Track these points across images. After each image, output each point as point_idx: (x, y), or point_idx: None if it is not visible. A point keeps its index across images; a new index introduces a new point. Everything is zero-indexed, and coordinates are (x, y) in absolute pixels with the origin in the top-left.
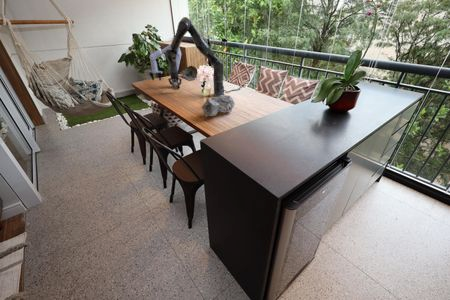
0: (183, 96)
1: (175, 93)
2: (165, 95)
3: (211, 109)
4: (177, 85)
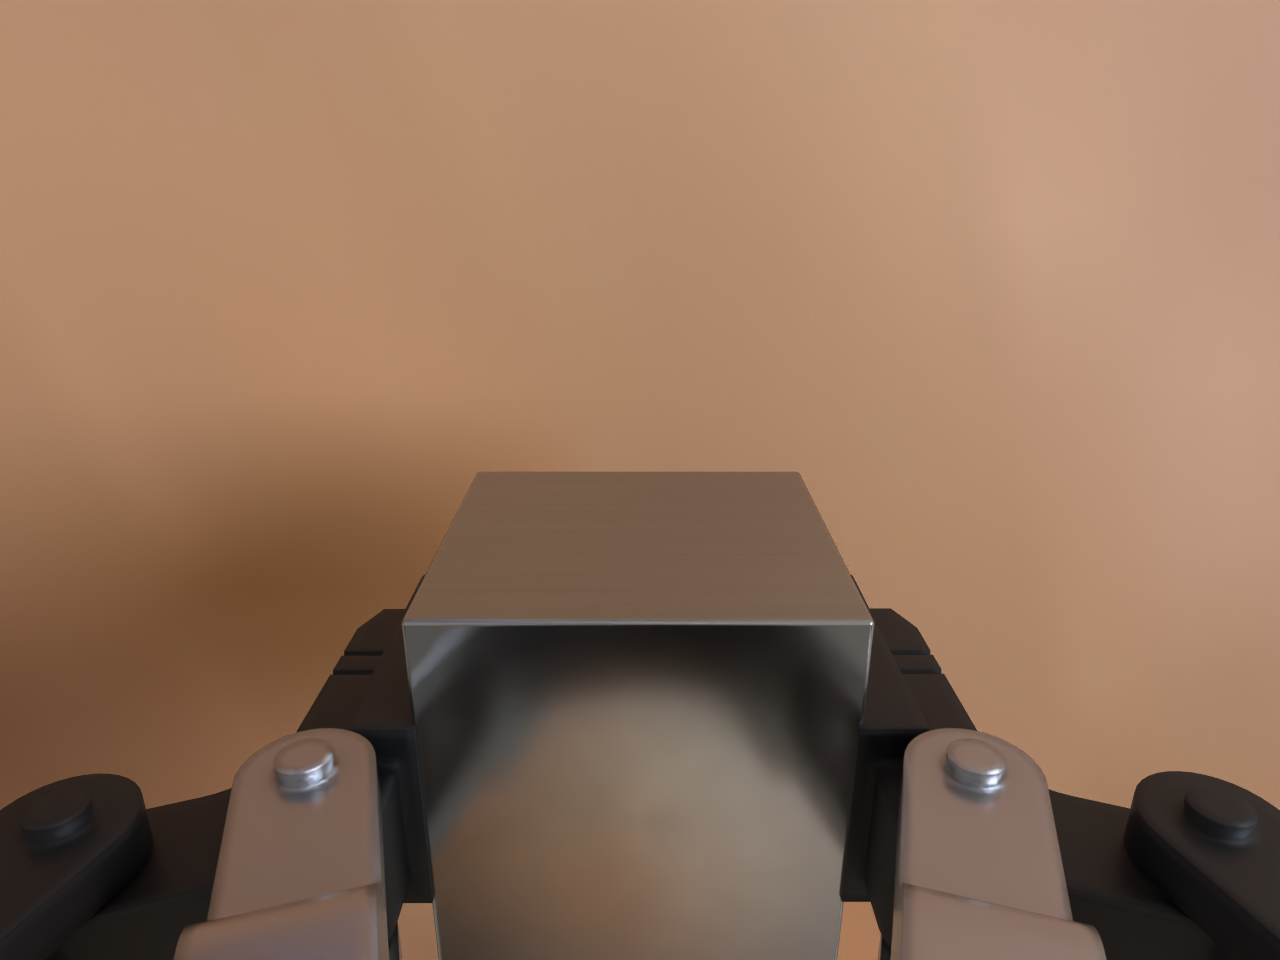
0: None
1: None
2: None
3: None
4: (829, 875)
